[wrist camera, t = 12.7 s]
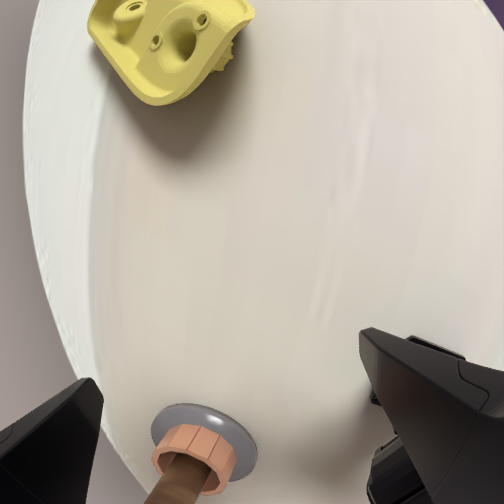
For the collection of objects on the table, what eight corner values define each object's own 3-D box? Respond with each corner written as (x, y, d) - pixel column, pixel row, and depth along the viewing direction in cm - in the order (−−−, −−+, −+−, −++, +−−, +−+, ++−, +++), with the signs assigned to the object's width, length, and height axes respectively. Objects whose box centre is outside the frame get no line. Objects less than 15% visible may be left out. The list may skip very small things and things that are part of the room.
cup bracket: (275, 434, 23) (266, 468, 19) (235, 487, 25) (224, 515, 21) (166, 384, 25) (143, 410, 20) (148, 446, 27) (130, 469, 22)
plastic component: (83, 26, 20) (126, -52, 13) (137, 31, 25) (180, -35, 19) (162, 134, 18) (249, 6, 11) (231, 131, 23) (308, 41, 17)
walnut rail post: (210, 437, 23) (154, 537, 11) (222, 462, 24) (177, 556, 11) (178, 437, 24) (116, 524, 12) (191, 460, 24) (139, 546, 12)
